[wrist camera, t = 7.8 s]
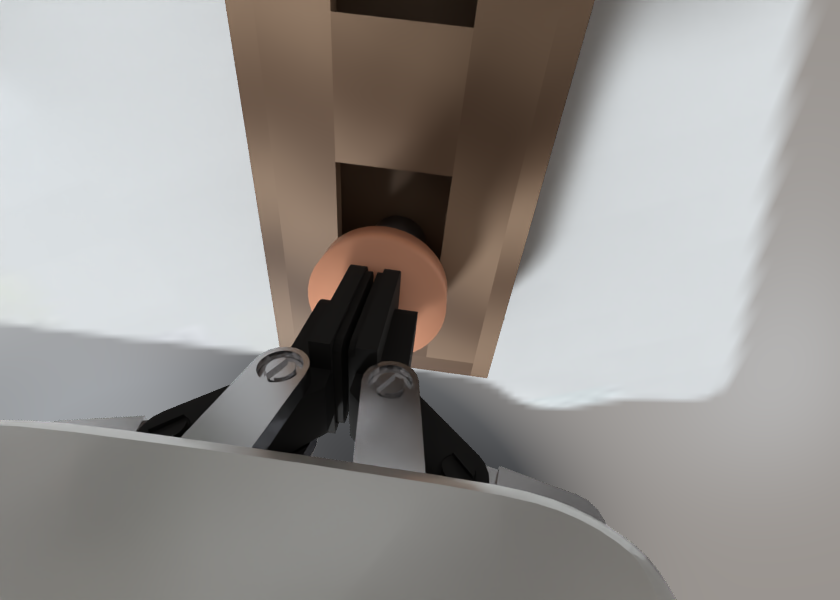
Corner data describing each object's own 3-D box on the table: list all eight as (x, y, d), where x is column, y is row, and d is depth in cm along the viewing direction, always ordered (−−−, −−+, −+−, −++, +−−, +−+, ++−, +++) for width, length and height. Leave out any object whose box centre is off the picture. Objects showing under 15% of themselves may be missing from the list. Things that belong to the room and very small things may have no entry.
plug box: (260, -422, 9) (92, -836, 5) (650, -387, 9) (819, -792, 5) (315, 294, 21) (280, 349, 17) (481, 316, 21) (487, 377, 17)
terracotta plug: (347, 184, 15) (302, 231, 11) (457, 198, 15) (456, 250, 11) (348, 279, 18) (312, 348, 14) (442, 292, 18) (437, 365, 13)
